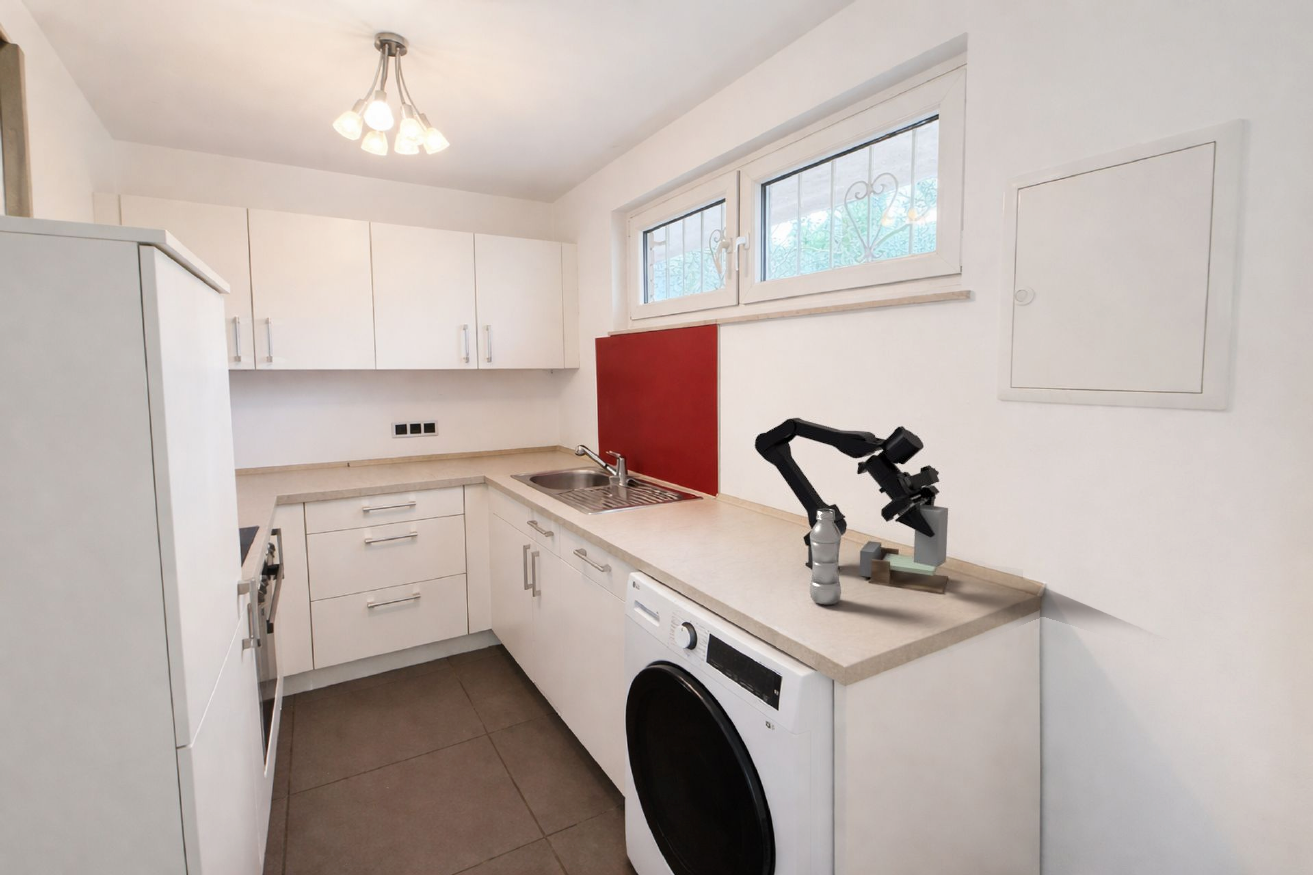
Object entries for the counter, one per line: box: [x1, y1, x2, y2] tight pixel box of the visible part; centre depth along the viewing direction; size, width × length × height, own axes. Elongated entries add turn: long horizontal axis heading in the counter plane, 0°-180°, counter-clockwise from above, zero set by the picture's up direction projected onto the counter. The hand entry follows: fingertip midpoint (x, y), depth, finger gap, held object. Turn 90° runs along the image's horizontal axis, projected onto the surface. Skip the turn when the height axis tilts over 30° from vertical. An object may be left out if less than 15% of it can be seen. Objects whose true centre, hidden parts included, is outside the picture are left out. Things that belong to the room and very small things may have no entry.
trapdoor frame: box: [868, 546, 949, 595], centre depth 142 cm, size 16×12×6 cm
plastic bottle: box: [809, 509, 842, 606], centre depth 129 cm, size 6×7×20 cm
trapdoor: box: [859, 540, 938, 578], centre depth 143 cm, size 16×9×6 cm, turn 59°
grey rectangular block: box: [913, 505, 949, 568], centre depth 133 cm, size 5×5×12 cm
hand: (937, 533), depth 132 cm, fingers closed on grey rectangular block, 5 cm apart
